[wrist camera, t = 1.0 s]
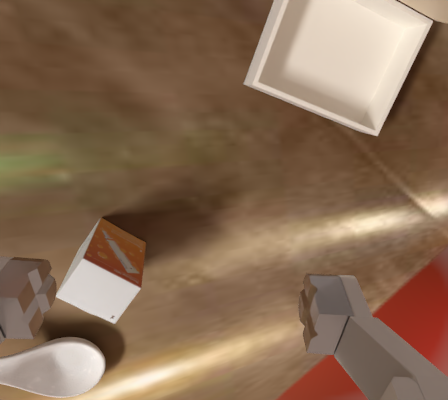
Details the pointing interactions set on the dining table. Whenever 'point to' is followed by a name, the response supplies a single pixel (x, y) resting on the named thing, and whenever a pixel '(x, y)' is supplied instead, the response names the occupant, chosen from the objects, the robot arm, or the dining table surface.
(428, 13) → the mailer lid
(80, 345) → the spoon rest
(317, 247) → the dining table surface
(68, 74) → the dining table surface
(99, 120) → the dining table surface
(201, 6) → the dining table surface
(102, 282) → the small box
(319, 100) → the tray
